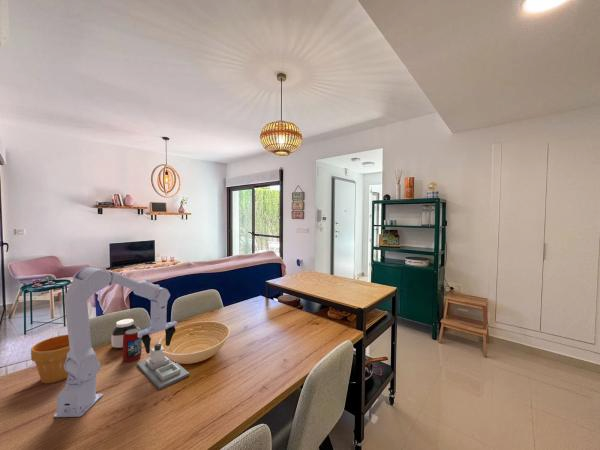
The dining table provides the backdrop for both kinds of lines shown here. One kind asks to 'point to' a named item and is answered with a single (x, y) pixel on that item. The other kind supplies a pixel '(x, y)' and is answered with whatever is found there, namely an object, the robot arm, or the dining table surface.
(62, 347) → the flower pot
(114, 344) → the spread jar
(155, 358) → the plug
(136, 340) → the beverage can
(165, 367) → the board
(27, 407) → the dining table surface
